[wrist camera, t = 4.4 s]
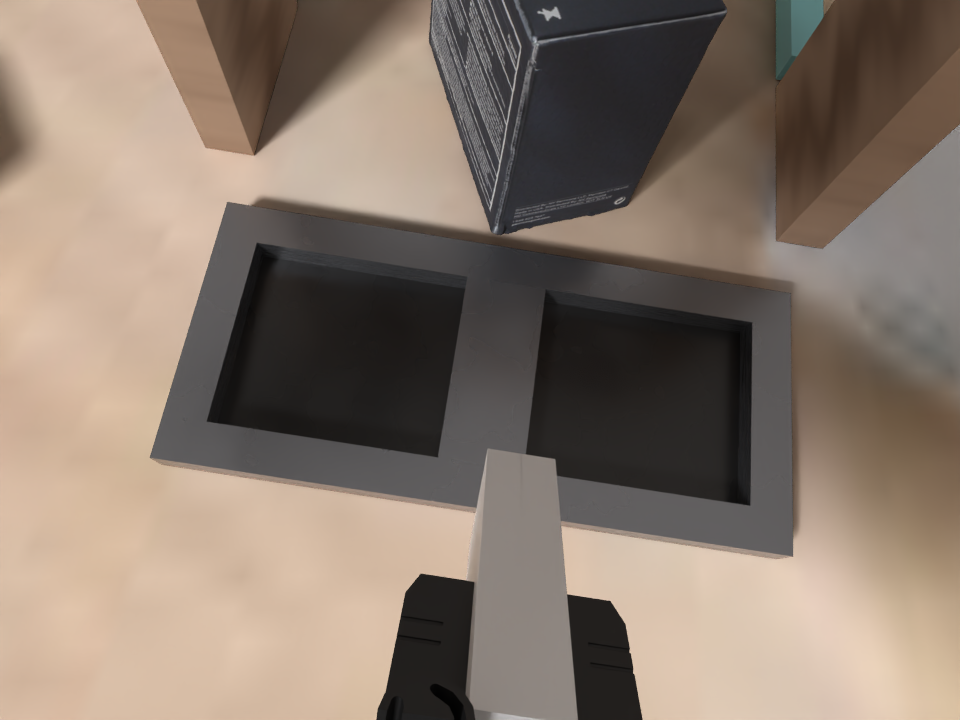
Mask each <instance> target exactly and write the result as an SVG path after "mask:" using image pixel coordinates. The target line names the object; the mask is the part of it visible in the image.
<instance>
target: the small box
mask: <svg viewBox="0 0 960 720" xmlns="http://www.w3.org/2000/svg"><path fill="white" fill-rule="evenodd" d="M726 13H727V8H726V6H725V4H724V3H723V1H722V0H432V3H431V17H430V32H429V43H430V46H431V48H432V51H433V55H434V58H435V61H436V64H437V68H438V71H439V74H440V77H441V80H442V83H443V86H444V89H445V92H446V95H447V100H448V102H449V104H450V108H451V111H452V114H453V117H454V120H455V123H456V126H457V129H458V132H459V136H460V139H461V141H462V144H463V150H464V152H465V155H466V157H467V161H468V163H469V166H470V169H471V172H472V175H473V179H474V181H475V184H476V187H477V191H478V194H479V196H480V199H481V202H482V205H483V208H484V210H485V214H486V217H487V220H488V222H489V226H490V230H491V232H492V233H494V234H497V235H502V234H504V233H505V234H509V233H512V232H516V231H517V230H520V229H524V228H529V229H530V228H532V227H534V226H538V225H543V224H547V223H553V222H557V221H562V220H567V219H573V218H576V217H581V216H586V215H588V216H593V215H595V214H600V213H603V212H607V211H610V210H613V209H617V208H621V207H625V206H627V205H628V203H629V201H630V199H631V197H632V195H633V193H634V191H635V189H636V187H637V185H638V183H639V181H640V179H641V177H642V175H643V173H644V171H645V169H646V167H647V165H648V163H649V161H650V159H651V157H652V155H653V153H654V151H655V149H656V147H657V145H658V143H659V141H660V140H661V138H662V136H663V134H664V132H665V130H666V128H667V126H668V124H669V122H670V120H671V118H672V116H673V114H674V112H675V110H676V108H677V106H678V105H679V103H680V101H681V99H682V97H683V95H684V93H685V91H686V89H687V87H688V85H689V83H690V81H691V79H692V77H693V75H694V73H695V71H696V70H697V68H698V66H699V64H700V62H701V60H702V58H703V56H704V54H705V52H706V50H707V48H708V45H709V44H710V42H711V40H712V38H713V36H714V34H715V33H716V31H717V29H718V27H719V25H720V24H721V22H722V20H723V19H724V17H725V15H726Z"/></svg>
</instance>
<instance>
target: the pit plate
mask: <svg viewBox="0 0 960 720" xmlns="http://www.w3.org/2000/svg"><path fill="white" fill-rule="evenodd" d="M488 449H494V450H501V451H507V452H513V453H519V454H526V455H532V456H538V457H545V458H551V459H555V461H556V473H557V484H558V496H559V508H560V519H561V526H565V527H572V528H578V529H585V530H591V531H598V532H604V533H611V534H617V535H624V536H630V537H637V538H643V539H650V540H656V541H663V542H669V543H676V544H682V545H689V546H695V547H702V548H708V549H715V550H722V551H728V552H735V553H741V554H748V555H754V556H761V557H767V558H774V559H780V558H787V557H793V497H792V390H791V293H786V292H780V291H774V290H768V289H762V288H755V287H749V286H743V285H737V284H731V283H725V282H718V281H712V280H706V279H700V278H694V277H687V276H681V275H675V274H669V273H663V272H657V271H650V270H644V269H638V268H632V267H626V266H620V265H613V264H607V263H601V262H595V261H589V260H583V259H576V258H570V257H564V256H558V255H552V254H545V253H539V252H533V251H527V250H521V249H515V248H508V247H502V246H496V245H490V244H484V243H478V242H471V241H465V240H459V239H453V238H447V237H441V236H434V235H428V234H422V233H416V232H410V231H403V230H397V229H391V228H385V227H379V226H373V225H366V224H360V223H354V222H348V221H342V220H336V219H329V218H323V217H317V216H311V215H305V214H299V213H292V212H286V211H280V210H274V209H268V208H261V207H255V206H249V205H243V204H237V203H231V202H227V205H226V208H225V212H224V215H223V218H222V221H221V225H220V228H219V231H218V235H217V238H216V241H215V245H214V248H213V251H212V254H211V258H210V261H209V264H208V268H207V271H206V274H205V277H204V281H203V284H202V287H201V291H200V294H199V297H198V300H197V304H196V307H195V310H194V314H193V317H192V320H191V323H190V327H189V330H188V333H187V337H186V340H185V343H184V347H183V350H182V353H181V356H180V360H179V363H178V366H177V370H176V373H175V376H174V379H173V383H172V386H171V389H170V393H169V396H168V399H167V402H166V406H165V409H164V412H163V416H162V419H161V422H160V425H159V429H158V432H157V435H156V439H155V442H154V445H153V449H152V452H151V455H150V458H151V459H153V460H155V461H156V462H158V463H160V464H162V465H167V466H174V467H180V468H187V469H193V470H200V471H207V472H213V473H220V474H226V475H233V476H239V477H246V478H252V479H259V480H265V481H272V482H278V483H285V484H291V485H298V486H304V487H311V488H317V489H324V490H330V491H337V492H343V493H350V494H356V495H363V496H370V497H376V498H383V499H389V500H396V501H402V502H409V503H415V504H422V505H428V506H435V507H441V508H448V509H454V510H461V511H467V512H474V513H476V508H477V503H478V498H479V492H480V487H481V482H482V476H483V471H484V466H485V460H486V455H487V450H488Z"/></svg>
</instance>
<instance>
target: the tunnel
mask: <svg viewBox="0 0 960 720" xmlns="http://www.w3.org/2000/svg"><path fill="white" fill-rule="evenodd" d="M136 1H137V3H138V5H139V7H140V9H141V12H142V14H143V16H144V18H145V20H146V22H147V24H148V26H149V29H150V31H151V33H152V35H153V37H154V39H155V41H156V43H157V46H158V48H159V50H160V52H161V54H162V56H163V58H164V60H165V63H166V65H167V67H168V69H169V71H170V73H171V75H172V77H173V80H174V82H175V84H176V86H177V88H178V90H179V92H180V94H181V96H182V99H183V101H184V103H185V105H186V107H187V109H188V111H189V113H190V116H191V118H192V120H193V122H194V124H195V126H196V128H197V130H198V133H199V135H200V137H201V139H202V141H203V143H204V145H205V147H206V148H211V149H217V150H223V151H230V152H236V153H242V154H248V155H254V154H255V150H256V147H257V143H258V140H259V137H260V133H261V130H262V127H263V123H264V120H265V116H266V113H267V110H268V106H269V103H270V100H271V96H272V93H273V90H274V86H275V83H276V79H277V76H278V73H279V69H280V66H281V63H282V59H283V56H284V52H285V49H286V46H287V42H288V39H289V36H290V32H291V29H292V26H293V22H294V19H295V15H296V12H297V9H298V6H297V1H296V0H136ZM959 124H960V0H835V1H834V2H833V4H832V5H831V7H830V8H829V10H828V11H827V13H826V14H825V16H824V17H823V19H822V20H821V22H820V23H819V25H818V26H817V28H816V29H815V31H814V32H813V34H812V35H811V37H810V38H809V39H808V41H807V42H806V44H805V45H804V47H803V48H802V50H801V51H800V53H799V54H798V56H797V57H796V59H795V60H794V62H793V63H792V65H791V66H790V68H789V69H788V71H787V72H786V74H785V75H784V77H783V78H782V80H781V81H780V83H779V84H778V86H777V87H776V241H780V242H786V243H792V244H798V245H804V246H810V247H816V248H824V247H825V246H826V245H827V244H828V243H829V242H830V241H832V240H833V239H834V238H835V237H836V236H837V235H838V234H839V233H840V232H841V231H843V230H844V229H845V228H846V227H847V226H848V225H849V224H850V223H851V222H852V221H854V220H855V219H856V218H857V217H858V216H859V215H860V214H861V213H862V212H863V211H865V210H866V209H867V208H868V207H869V206H870V205H871V204H872V203H873V202H874V201H876V200H877V199H878V198H879V197H880V196H881V195H882V194H883V193H884V192H885V191H887V190H888V189H889V188H890V187H891V186H892V185H893V184H894V183H895V182H896V181H898V180H899V179H900V178H901V177H902V176H903V175H904V174H905V173H906V172H907V171H909V170H910V169H911V168H912V167H913V166H914V165H915V164H916V163H917V162H918V161H919V160H921V159H922V158H923V157H924V156H925V155H926V154H927V153H928V152H929V151H930V150H932V149H933V148H934V147H935V146H936V145H937V144H938V143H939V142H940V141H941V140H943V139H944V138H945V137H946V136H947V135H948V134H949V133H950V132H951V131H952V130H954V129H955V128H956V127H957V126H958V125H959Z"/></svg>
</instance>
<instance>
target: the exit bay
mask: <svg viewBox="0 0 960 720" xmlns="http://www.w3.org/2000/svg"><path fill="white" fill-rule="evenodd" d="M823 17H824V12H823V0H776V79H777V80H782V78H783V77H784V75H785V74H786V72H787V71H788V69H789V68H790V66H791V65H792V63H793V62H794V60H795V59H796V57H797V56H798V54H799V53H800V51H801V50H802V48H803V47H804V45H805V44H806V42H807V41H808V39H809V38H810V37H811V35H812V34H813V32H814V31H815V29H816V28H817V26H818V25H819V23H820V22H821V20H822V19H823Z"/></svg>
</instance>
